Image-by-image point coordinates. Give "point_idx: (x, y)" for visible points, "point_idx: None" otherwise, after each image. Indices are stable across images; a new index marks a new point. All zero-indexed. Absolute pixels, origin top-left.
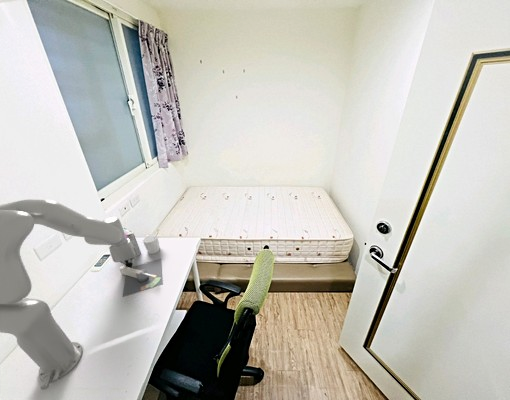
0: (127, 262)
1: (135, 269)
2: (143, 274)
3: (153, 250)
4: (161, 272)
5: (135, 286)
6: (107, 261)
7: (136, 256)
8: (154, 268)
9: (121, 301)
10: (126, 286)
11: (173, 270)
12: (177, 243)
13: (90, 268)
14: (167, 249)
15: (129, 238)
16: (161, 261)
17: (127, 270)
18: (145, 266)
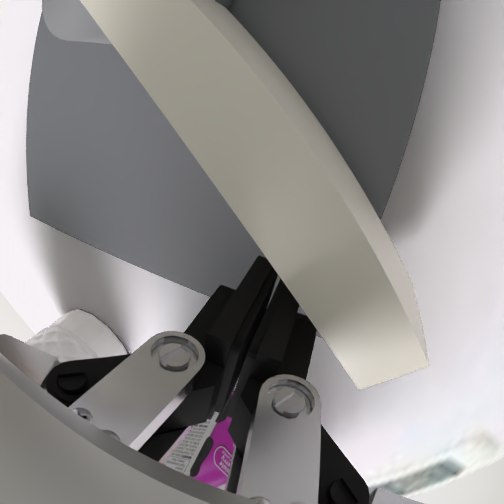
0: (239, 381)
1: (146, 74)
2: None
3: (56, 337)
4: (42, 27)
5: None
6: (398, 471)
7: (4, 342)
8: (66, 110)
9: None
10: None
11: (11, 42)
12: (6, 291)
13: (484, 466)
14: (33, 290)
15: None
16: (27, 175)
17: (313, 159)
18: (129, 204)
